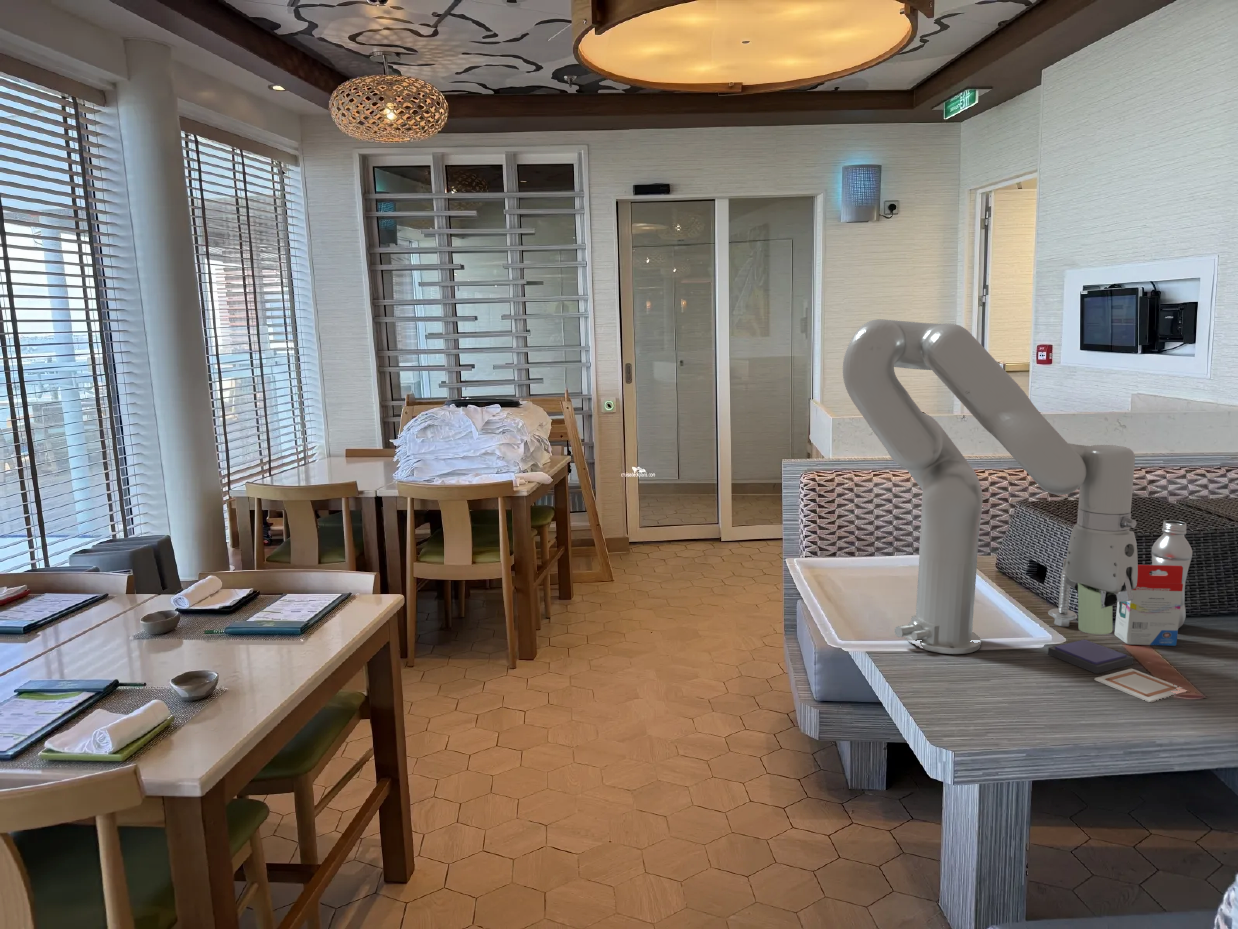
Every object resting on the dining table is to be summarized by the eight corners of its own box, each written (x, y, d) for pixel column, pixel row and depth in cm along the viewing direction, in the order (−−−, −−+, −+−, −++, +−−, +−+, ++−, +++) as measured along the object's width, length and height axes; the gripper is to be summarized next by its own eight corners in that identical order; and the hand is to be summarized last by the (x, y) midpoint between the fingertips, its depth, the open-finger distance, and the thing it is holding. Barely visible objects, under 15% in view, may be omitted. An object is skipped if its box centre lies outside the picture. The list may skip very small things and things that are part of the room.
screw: (1081, 629, 157) (1054, 628, 157) (1068, 619, 162) (1042, 619, 162) (1087, 561, 155) (1060, 561, 155) (1074, 554, 160) (1048, 554, 160)
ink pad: (1096, 673, 137) (1097, 665, 137) (1047, 654, 145) (1048, 645, 145) (1132, 664, 141) (1133, 655, 141) (1083, 645, 149) (1084, 637, 149)
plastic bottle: (1183, 624, 159) (1195, 521, 156) (1184, 635, 154) (1196, 528, 150) (1143, 618, 163) (1154, 516, 159) (1143, 629, 157) (1154, 524, 154)
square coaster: (1149, 702, 127) (1150, 700, 127) (1094, 680, 135) (1094, 677, 135) (1187, 691, 131) (1187, 689, 131) (1131, 670, 139) (1131, 667, 139)
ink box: (1162, 636, 153) (1170, 558, 151) (1177, 646, 149) (1186, 566, 146) (1112, 635, 154) (1120, 557, 152) (1126, 645, 149) (1134, 565, 147)
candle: (1118, 631, 141) (1118, 582, 141) (1101, 636, 139) (1100, 587, 138) (1089, 624, 146) (1089, 577, 145) (1072, 630, 143) (1071, 582, 143)
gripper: (1164, 527, 134) (1154, 638, 137) (1076, 509, 148) (1069, 610, 151) (1133, 533, 131) (1124, 646, 134) (1046, 514, 145) (1039, 617, 148)
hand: (1095, 626), depth 142 cm, fingers closed on candle, 1 cm apart
